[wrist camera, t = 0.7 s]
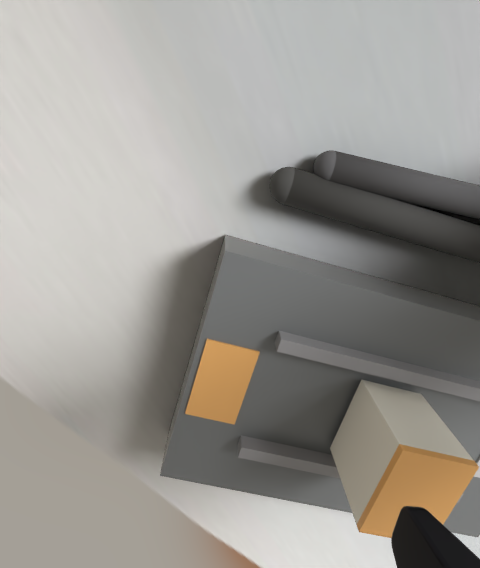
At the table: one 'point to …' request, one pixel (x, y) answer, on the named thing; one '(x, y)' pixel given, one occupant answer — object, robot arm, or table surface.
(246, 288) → the grey tray
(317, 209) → the grey rounded rod
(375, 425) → the toggle
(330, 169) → the grey thin rod
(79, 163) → the table surface
